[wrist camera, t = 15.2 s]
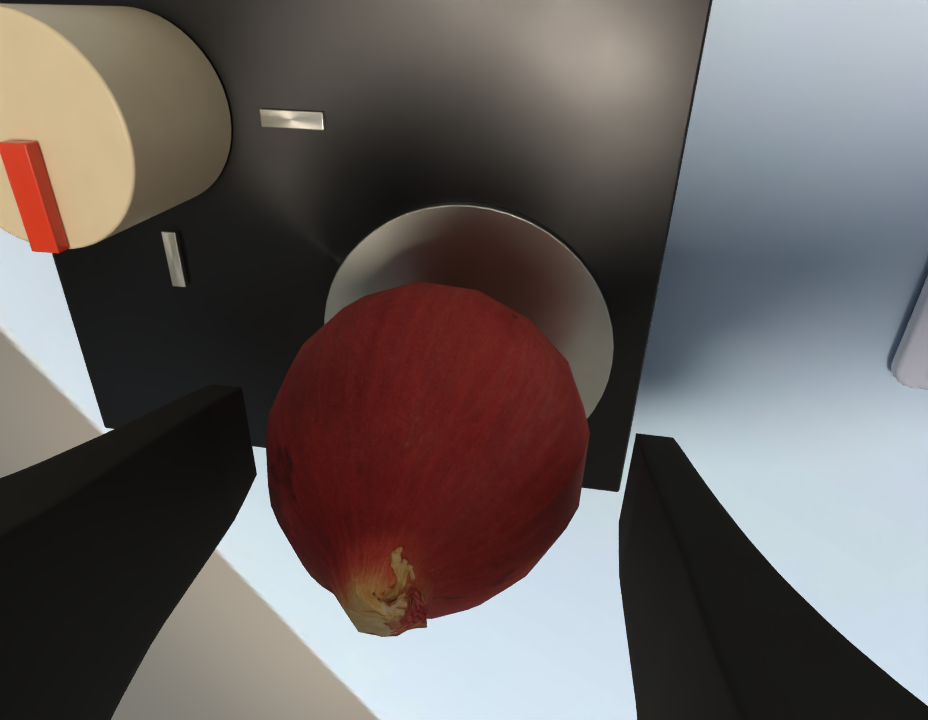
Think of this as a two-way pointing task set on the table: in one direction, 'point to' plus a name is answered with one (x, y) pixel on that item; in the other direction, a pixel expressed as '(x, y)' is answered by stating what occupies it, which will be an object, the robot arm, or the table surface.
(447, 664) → the table surface
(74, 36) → the knob
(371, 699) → the table surface
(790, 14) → the table surface
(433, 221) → the burner
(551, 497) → the onion
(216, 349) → the hob
